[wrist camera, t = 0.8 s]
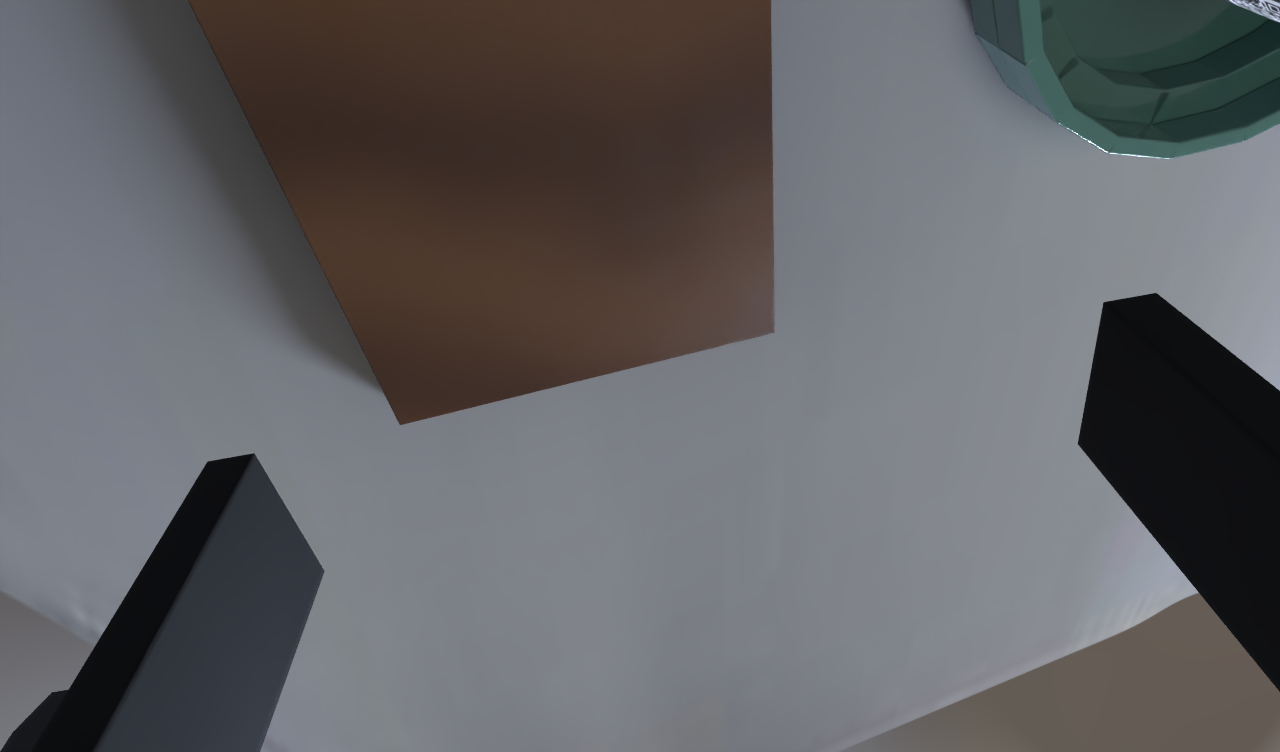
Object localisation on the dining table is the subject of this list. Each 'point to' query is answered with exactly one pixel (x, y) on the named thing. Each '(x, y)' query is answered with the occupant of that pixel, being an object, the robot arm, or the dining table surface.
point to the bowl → (1139, 69)
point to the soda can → (1261, 7)
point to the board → (518, 178)
